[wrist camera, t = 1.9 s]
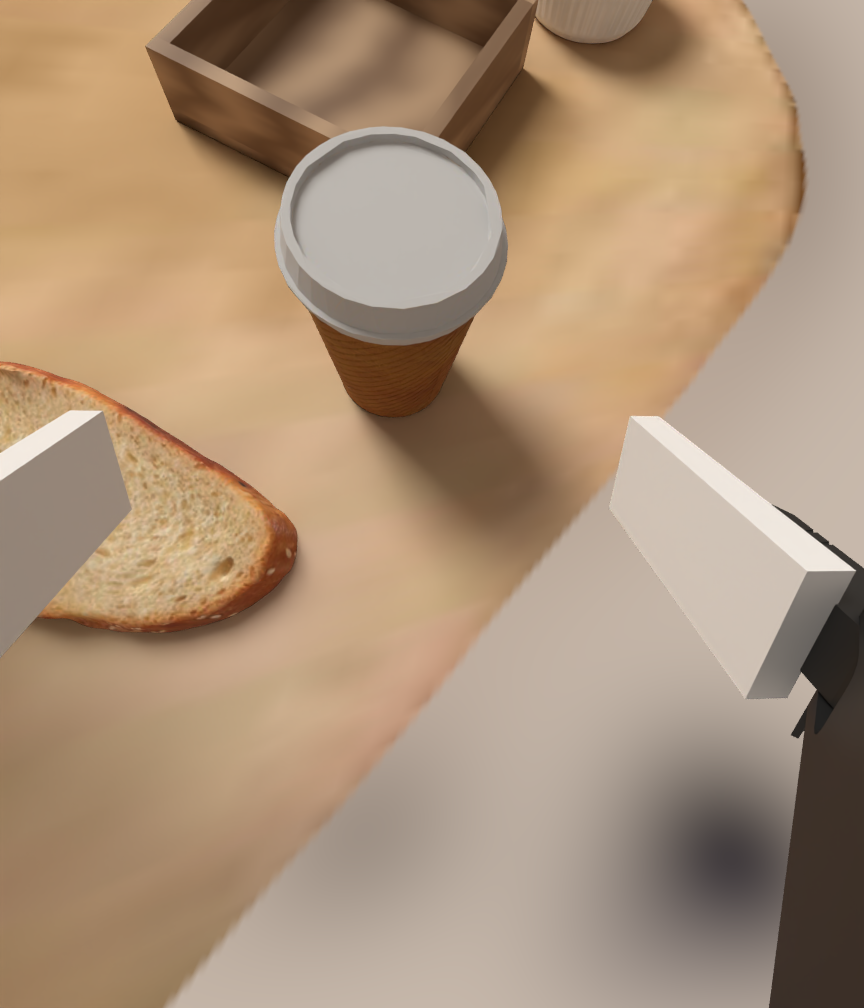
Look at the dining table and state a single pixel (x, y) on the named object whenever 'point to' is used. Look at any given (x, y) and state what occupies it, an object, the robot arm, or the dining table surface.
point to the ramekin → (591, 18)
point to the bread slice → (157, 521)
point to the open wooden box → (338, 69)
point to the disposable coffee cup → (391, 258)
